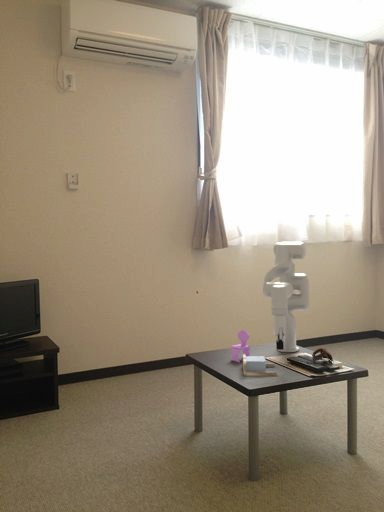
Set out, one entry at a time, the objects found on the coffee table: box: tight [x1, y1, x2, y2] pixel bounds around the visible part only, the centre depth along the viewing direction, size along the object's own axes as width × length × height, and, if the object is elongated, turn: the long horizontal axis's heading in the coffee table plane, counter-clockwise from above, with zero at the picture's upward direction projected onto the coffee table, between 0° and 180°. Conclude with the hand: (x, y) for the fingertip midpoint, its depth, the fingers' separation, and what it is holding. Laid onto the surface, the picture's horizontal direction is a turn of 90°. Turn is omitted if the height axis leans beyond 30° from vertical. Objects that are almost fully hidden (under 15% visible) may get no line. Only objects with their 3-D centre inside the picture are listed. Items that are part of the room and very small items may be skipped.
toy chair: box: [230, 329, 251, 363], centre depth 245 cm, size 8×9×15 cm
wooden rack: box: [242, 353, 278, 377], centre depth 225 cm, size 16×15×6 cm
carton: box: [246, 355, 267, 372], centre depth 225 cm, size 9×9×6 cm
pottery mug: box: [311, 347, 334, 362], centre depth 238 cm, size 12×10×8 cm
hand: (279, 349), depth 225 cm, fingers closed
